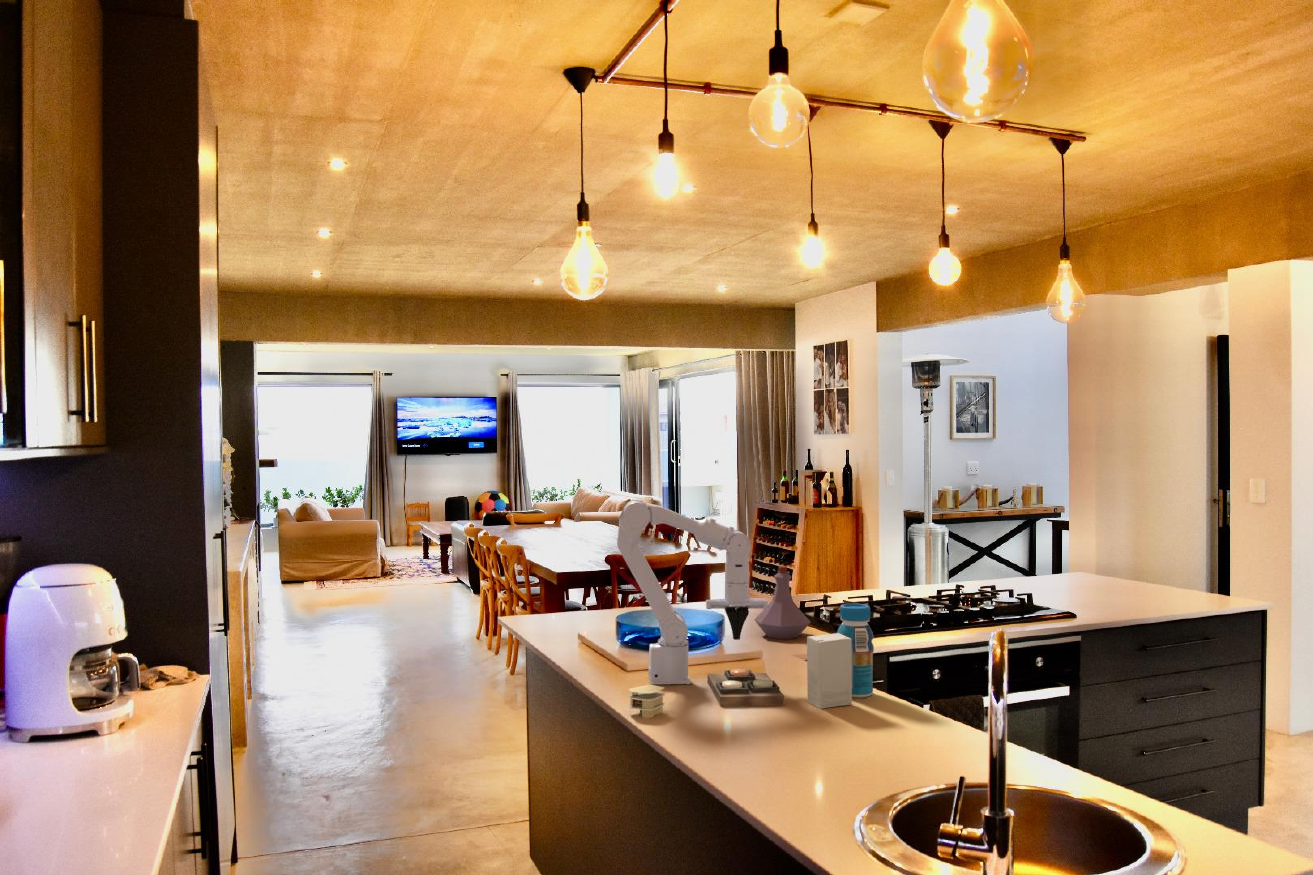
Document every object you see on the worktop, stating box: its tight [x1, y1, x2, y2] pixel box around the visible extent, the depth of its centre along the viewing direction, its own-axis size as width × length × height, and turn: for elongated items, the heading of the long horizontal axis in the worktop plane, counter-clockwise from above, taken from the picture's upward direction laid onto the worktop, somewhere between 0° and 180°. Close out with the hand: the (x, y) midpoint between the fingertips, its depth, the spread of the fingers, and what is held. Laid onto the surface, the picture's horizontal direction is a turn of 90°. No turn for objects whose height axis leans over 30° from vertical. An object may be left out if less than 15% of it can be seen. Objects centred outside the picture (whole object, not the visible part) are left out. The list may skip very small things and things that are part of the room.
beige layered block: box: [628, 684, 666, 719], centre depth 207 cm, size 10×9×6 cm
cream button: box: [722, 681, 742, 689], centre depth 218 cm, size 4×4×1 cm
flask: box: [753, 565, 812, 640], centre depth 286 cm, size 16×16×20 cm
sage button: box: [753, 680, 773, 688], centre depth 220 cm, size 4×4×1 cm
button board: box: [707, 669, 785, 707], centre depth 223 cm, size 14×20×3 cm
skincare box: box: [806, 632, 853, 710], centre depth 215 cm, size 8×6×15 cm
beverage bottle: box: [836, 602, 875, 699], centre depth 223 cm, size 8×8×20 cm
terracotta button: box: [730, 668, 749, 676], centre depth 229 cm, size 4×4×1 cm
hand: (736, 638), depth 235 cm, fingers closed
